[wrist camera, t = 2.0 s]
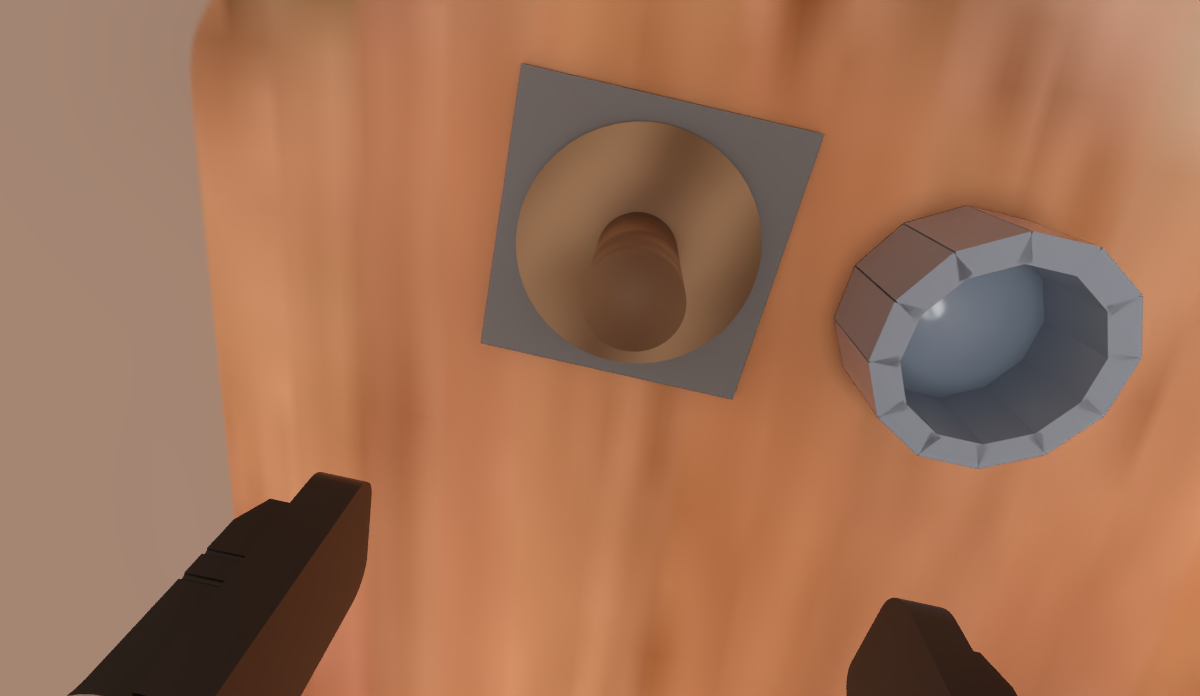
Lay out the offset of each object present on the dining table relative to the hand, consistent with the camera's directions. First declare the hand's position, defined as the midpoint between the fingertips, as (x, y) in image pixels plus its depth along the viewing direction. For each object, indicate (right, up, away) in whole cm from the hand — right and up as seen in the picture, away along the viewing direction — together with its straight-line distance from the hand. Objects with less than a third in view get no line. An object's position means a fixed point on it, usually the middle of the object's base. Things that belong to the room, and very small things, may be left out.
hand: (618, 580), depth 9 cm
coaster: (+1, +8, +19) cm, 21 cm away
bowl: (+16, +5, +20) cm, 26 cm away
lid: (+1, +8, +19) cm, 21 cm away
